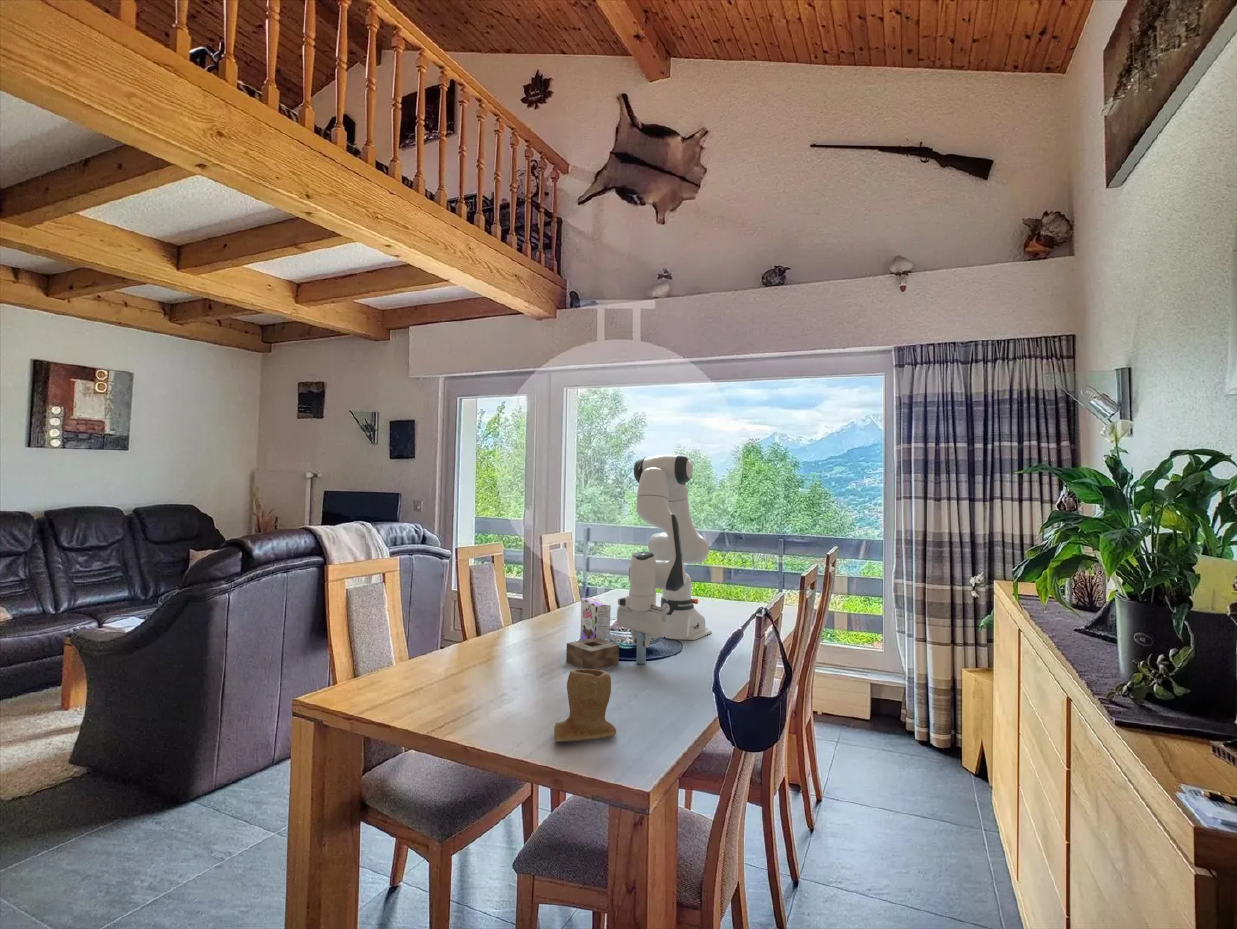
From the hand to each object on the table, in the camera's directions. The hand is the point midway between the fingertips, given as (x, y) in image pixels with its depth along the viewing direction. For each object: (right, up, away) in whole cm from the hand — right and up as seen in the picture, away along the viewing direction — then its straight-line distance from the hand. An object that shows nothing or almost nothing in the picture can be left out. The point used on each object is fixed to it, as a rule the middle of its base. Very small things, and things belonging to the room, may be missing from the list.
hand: (641, 645), depth 202 cm
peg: (0, -6, 0) cm, 6 cm away
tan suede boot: (-16, -5, -57) cm, 59 cm away
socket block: (-16, -5, -1) cm, 17 cm away
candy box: (-16, -6, +17) cm, 24 cm away
